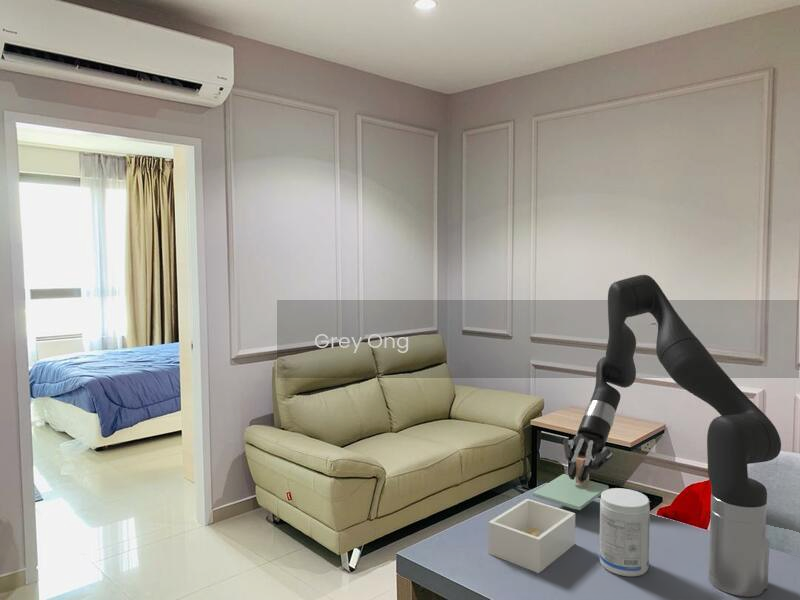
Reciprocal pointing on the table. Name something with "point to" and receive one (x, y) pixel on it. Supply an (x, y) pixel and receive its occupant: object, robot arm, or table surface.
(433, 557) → the table surface
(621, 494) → the supplement tub
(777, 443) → the robot arm
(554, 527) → the parts tub
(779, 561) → the table surface
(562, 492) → the lid
